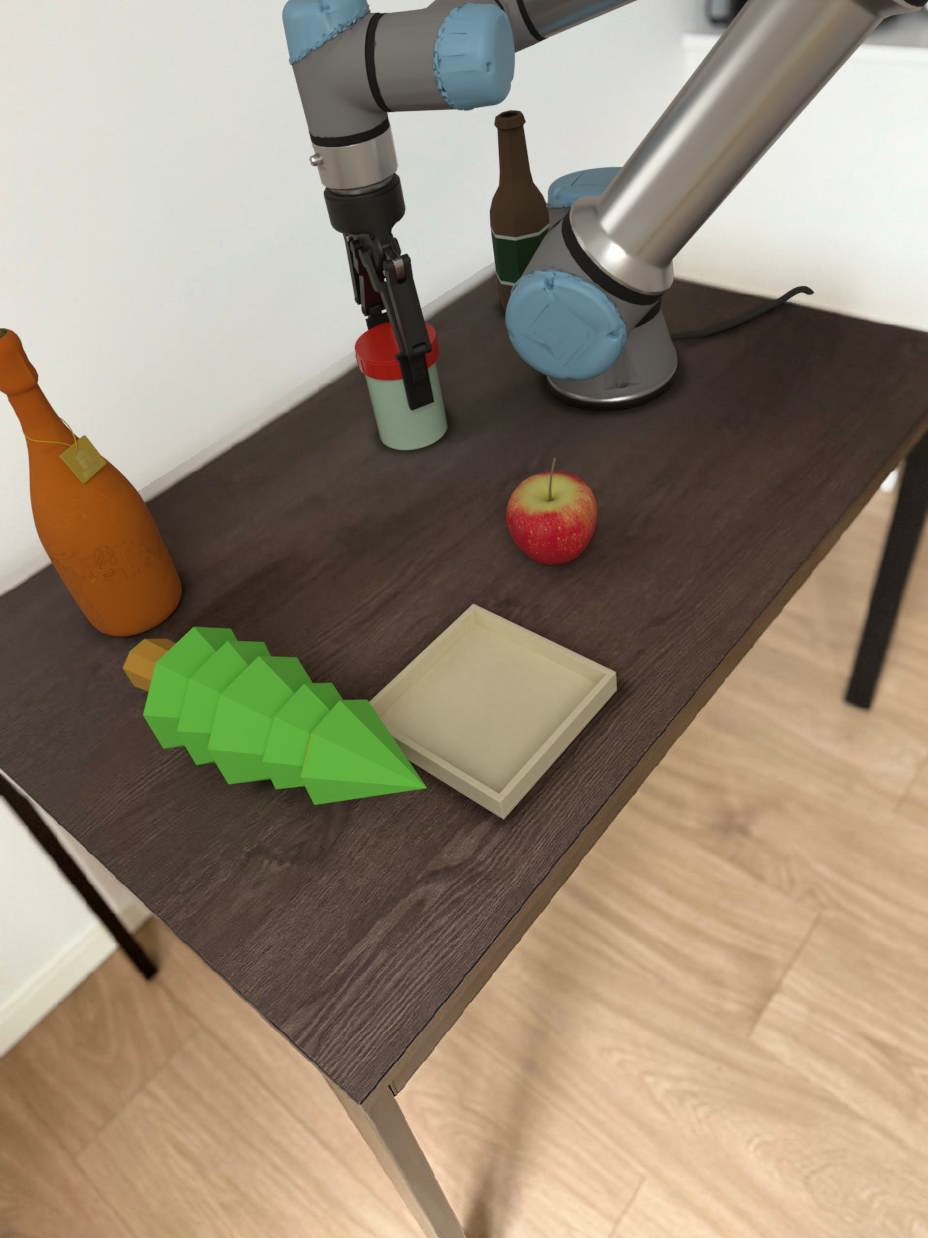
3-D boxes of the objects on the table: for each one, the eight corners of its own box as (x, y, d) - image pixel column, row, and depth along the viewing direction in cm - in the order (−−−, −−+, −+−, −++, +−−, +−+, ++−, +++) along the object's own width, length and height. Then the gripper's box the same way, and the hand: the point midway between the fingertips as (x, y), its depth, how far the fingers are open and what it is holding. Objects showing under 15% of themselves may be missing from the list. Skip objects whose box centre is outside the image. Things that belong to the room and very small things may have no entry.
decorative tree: (136, 579, 79) (429, 691, 64) (217, 634, 88) (488, 743, 73) (62, 701, 76) (351, 849, 61) (154, 745, 85) (423, 882, 70)
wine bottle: (101, 658, 91) (-66, 381, 70) (82, 599, 97) (-76, 331, 76) (198, 615, 93) (65, 335, 72) (173, 561, 100) (44, 290, 79)
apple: (612, 533, 93) (608, 448, 86) (577, 590, 88) (570, 505, 81) (535, 517, 96) (526, 434, 89) (498, 570, 91) (485, 487, 84)
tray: (476, 621, 87) (473, 603, 85) (617, 690, 79) (616, 671, 77) (361, 731, 80) (355, 713, 78) (503, 820, 71) (500, 802, 70)
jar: (411, 404, 115) (393, 320, 107) (461, 421, 111) (446, 335, 103) (365, 438, 111) (344, 353, 103) (415, 457, 107) (397, 370, 99)
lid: (439, 332, 107) (436, 314, 105) (439, 373, 101) (435, 354, 99) (361, 344, 108) (357, 325, 106) (356, 385, 101) (351, 366, 100)
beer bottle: (553, 318, 125) (536, 122, 108) (495, 320, 127) (470, 128, 110) (560, 289, 130) (546, 99, 113) (505, 292, 132) (482, 105, 115)
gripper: (290, 161, 98) (342, 358, 113) (363, 226, 83) (411, 442, 98) (357, 140, 99) (399, 337, 115) (441, 200, 84) (476, 417, 100)
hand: (405, 385), depth 107 cm, fingers closed on lid, 9 cm apart
